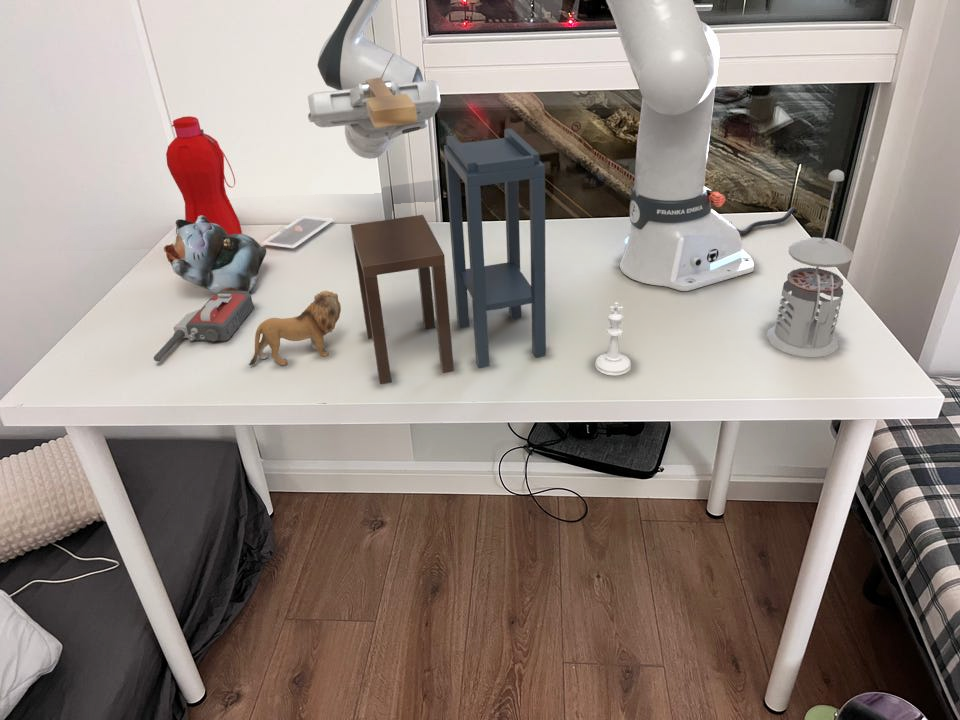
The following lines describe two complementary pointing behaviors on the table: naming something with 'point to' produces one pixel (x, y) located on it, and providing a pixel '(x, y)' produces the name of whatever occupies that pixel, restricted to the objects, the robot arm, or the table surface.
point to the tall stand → (505, 280)
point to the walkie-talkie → (212, 320)
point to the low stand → (393, 252)
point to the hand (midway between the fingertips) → (377, 87)
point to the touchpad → (297, 231)
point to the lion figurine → (299, 327)
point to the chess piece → (613, 348)
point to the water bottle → (201, 175)
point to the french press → (811, 295)
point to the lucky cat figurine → (214, 256)
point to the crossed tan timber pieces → (388, 106)
